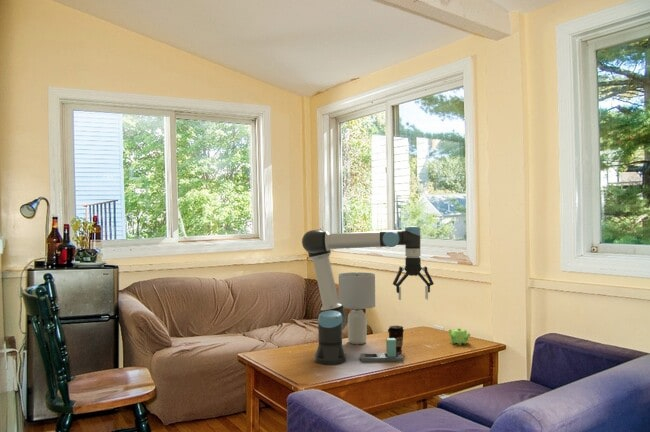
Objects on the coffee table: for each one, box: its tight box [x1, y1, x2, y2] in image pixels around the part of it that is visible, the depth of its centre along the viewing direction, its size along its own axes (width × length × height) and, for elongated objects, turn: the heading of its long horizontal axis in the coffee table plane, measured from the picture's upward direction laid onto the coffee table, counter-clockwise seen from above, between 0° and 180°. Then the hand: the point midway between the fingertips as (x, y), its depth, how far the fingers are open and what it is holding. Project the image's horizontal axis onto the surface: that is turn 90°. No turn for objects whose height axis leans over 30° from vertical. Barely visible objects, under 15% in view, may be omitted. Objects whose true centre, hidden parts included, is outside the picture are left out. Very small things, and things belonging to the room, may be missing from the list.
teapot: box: [448, 327, 471, 346], centre depth 285 cm, size 11×12×8 cm
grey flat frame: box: [359, 352, 404, 363], centre depth 255 cm, size 20×9×2 cm, turn 93°
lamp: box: [338, 271, 376, 345], centre depth 289 cm, size 20×20×39 cm
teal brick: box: [385, 337, 396, 357], centre depth 255 cm, size 4×4×10 cm
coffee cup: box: [387, 325, 405, 354], centre depth 269 cm, size 9×8×13 cm
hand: (413, 299), depth 260 cm, fingers open, 13 cm apart
